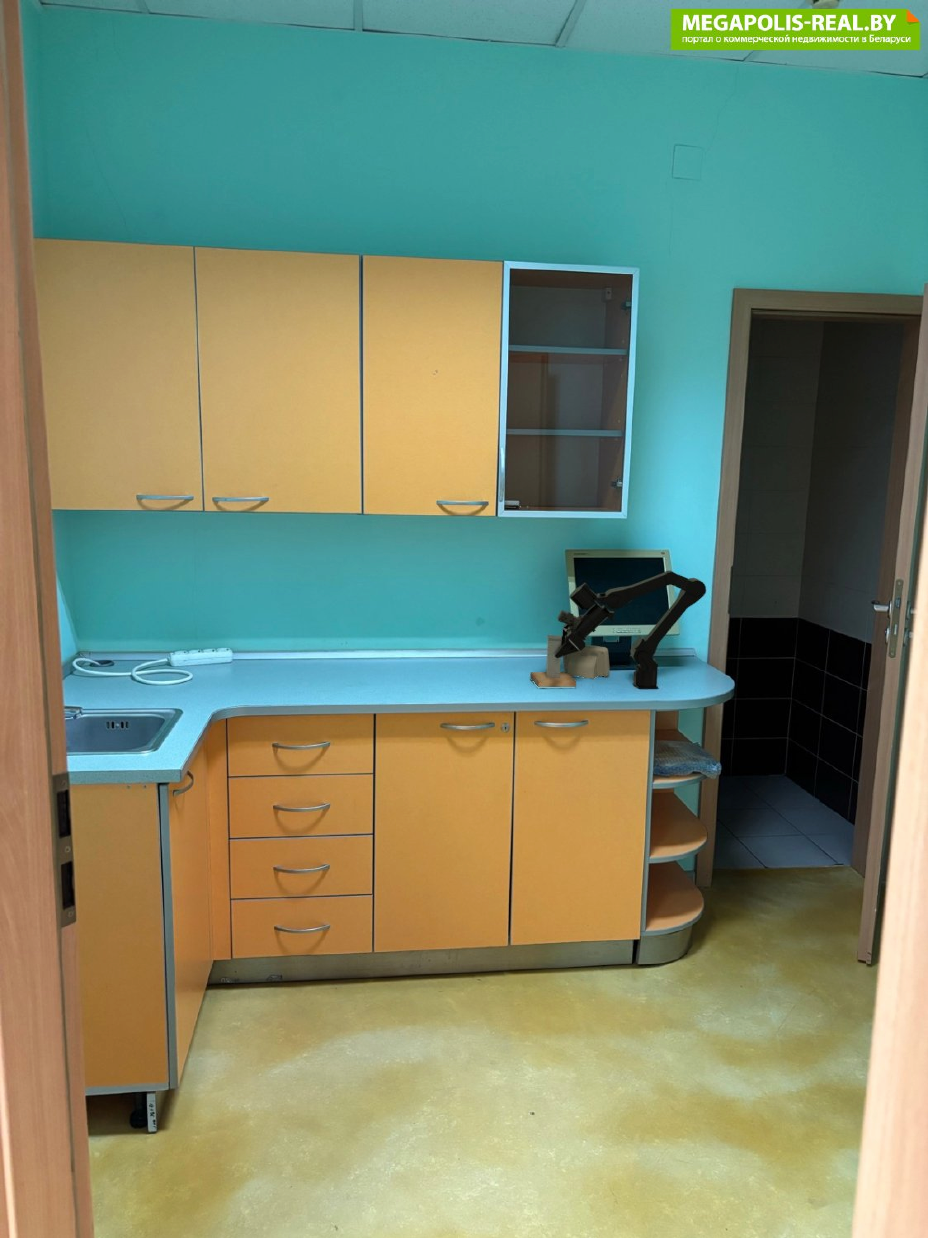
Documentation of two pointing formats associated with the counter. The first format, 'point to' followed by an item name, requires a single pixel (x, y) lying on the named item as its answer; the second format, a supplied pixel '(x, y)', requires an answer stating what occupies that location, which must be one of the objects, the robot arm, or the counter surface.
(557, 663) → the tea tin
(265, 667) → the counter surface
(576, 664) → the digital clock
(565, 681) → the walnut board
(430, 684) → the counter surface
